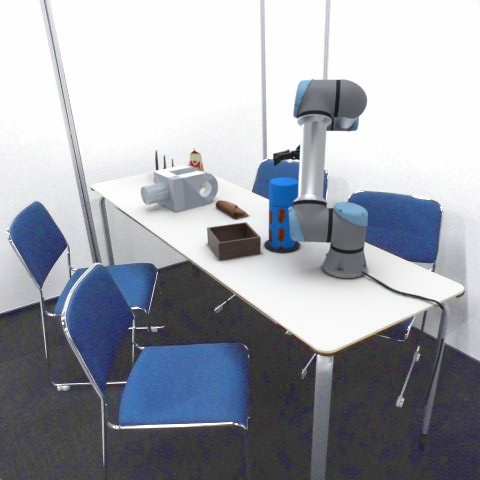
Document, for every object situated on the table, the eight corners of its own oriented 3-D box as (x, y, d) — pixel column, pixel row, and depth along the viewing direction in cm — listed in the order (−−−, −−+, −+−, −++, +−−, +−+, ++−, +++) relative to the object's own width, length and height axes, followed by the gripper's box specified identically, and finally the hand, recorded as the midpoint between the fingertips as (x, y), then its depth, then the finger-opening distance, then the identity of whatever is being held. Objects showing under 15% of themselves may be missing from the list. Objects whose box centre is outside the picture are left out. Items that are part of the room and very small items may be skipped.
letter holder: (157, 182, 263) (154, 156, 255) (157, 172, 279) (154, 148, 271) (174, 181, 263) (172, 155, 256) (174, 172, 280) (172, 147, 272)
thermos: (294, 250, 182) (297, 186, 168) (266, 248, 184) (267, 185, 170) (296, 239, 191) (300, 177, 177) (270, 238, 192) (271, 176, 179)
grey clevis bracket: (198, 191, 247) (196, 162, 239) (218, 201, 234) (217, 170, 226) (138, 206, 230) (133, 175, 222) (156, 216, 217) (152, 184, 209)
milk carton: (204, 187, 254) (202, 148, 243) (187, 187, 254) (184, 149, 243) (206, 182, 262) (203, 144, 251) (189, 182, 262) (186, 145, 251)
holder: (260, 254, 181) (260, 237, 177) (219, 260, 177) (218, 243, 173) (246, 238, 194) (246, 222, 191) (207, 243, 190) (206, 227, 186)
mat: (305, 249, 183) (305, 248, 183) (272, 255, 180) (272, 253, 180) (291, 236, 195) (291, 235, 194) (259, 241, 191) (259, 240, 191)
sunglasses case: (249, 214, 216) (243, 203, 211) (238, 224, 215) (232, 214, 210) (230, 203, 229) (223, 193, 224) (219, 213, 228) (213, 203, 224)
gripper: (335, 162, 193) (323, 176, 177) (277, 158, 201) (261, 170, 185) (337, 143, 189) (325, 155, 173) (277, 139, 197) (261, 151, 181)
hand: (291, 163), depth 179 cm, fingers open, 13 cm apart
